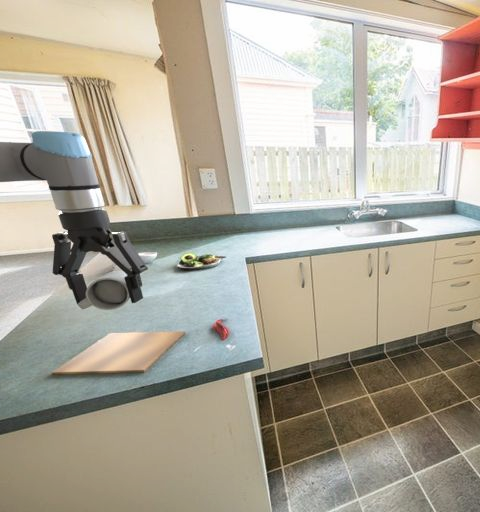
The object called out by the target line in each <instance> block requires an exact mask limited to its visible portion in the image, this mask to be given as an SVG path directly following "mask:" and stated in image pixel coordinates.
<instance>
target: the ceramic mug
mask: <svg viewBox="0 0 480 512" xmlns="http://www.w3.org/2000/svg"><path fill="white" fill-rule="evenodd" d="M126 276H127V274H126V273H125V272H124V271H114V270H113V271H109V272H107V273H104V274H103V275H102V276H100V277H98V278H97V279H95V280H94V281H92V282H91V283H90V284H89V285H87V290H86V298H85V299H84V300H82V301H81V302H79V303H78V304H77V303H76V305H77V306H78V307H79V308H80V309H81V310H85V309H89V308H90V307H94V308H96V309H99V310H105V311H111V310H117V309H119V308H121V307H123V306H124V305H125V304H127V303H128V301H129V300H131V299H130V296H129V292H128V289H127V285H126V282H125V278H124V277H126Z"/></svg>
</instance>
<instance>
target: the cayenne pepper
mask: <svg viewBox="0 0 480 512" xmlns="http://www.w3.org/2000/svg"><path fill="white" fill-rule="evenodd" d="M222 322H223V319H222V318H220V319H218V320H216V321H215V322H214V323H213V324H212V330H213V331H215V332H217V333H218V334H219V335H220V337H221V341H224V340H226V339H227V338H228V337H229V335H230V331H229V329H228V327H227V326H225V325H223V324H222Z"/></svg>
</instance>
